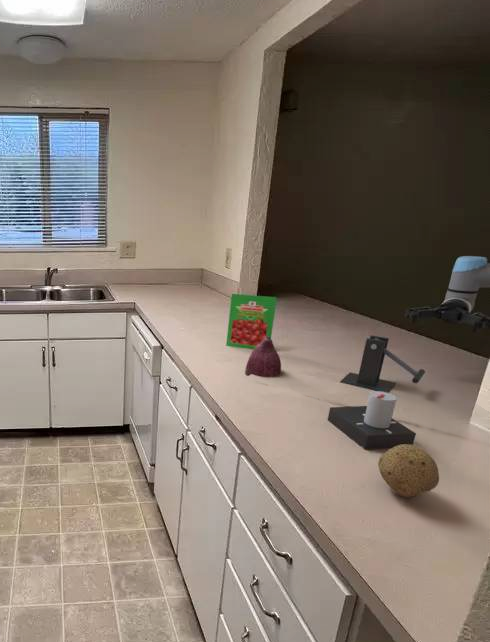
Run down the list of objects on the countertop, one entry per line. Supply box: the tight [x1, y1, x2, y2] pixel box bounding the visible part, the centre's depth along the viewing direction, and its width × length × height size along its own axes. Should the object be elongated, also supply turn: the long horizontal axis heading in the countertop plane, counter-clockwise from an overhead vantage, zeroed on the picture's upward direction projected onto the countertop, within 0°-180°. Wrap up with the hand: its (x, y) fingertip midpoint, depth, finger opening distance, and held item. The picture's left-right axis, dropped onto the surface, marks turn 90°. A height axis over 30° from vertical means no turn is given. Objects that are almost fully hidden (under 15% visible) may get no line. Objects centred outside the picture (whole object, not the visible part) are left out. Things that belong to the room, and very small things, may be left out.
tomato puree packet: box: [225, 293, 278, 350], centre depth 159 cm, size 15×1×20 cm, turn 62°
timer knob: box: [364, 390, 398, 429], centre depth 98 cm, size 5×5×7 cm
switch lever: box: [375, 338, 426, 384], centre depth 121 cm, size 15×9×2 cm, turn 45°
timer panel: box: [327, 405, 417, 450], centre depth 102 cm, size 14×11×4 cm
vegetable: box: [244, 336, 282, 378], centre depth 134 cm, size 10×10×15 cm
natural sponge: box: [377, 444, 440, 498], centre depth 79 cm, size 9×9×10 cm
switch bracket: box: [339, 334, 396, 393], centre depth 125 cm, size 12×10×15 cm
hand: (443, 323), depth 122 cm, fingers open, 13 cm apart
